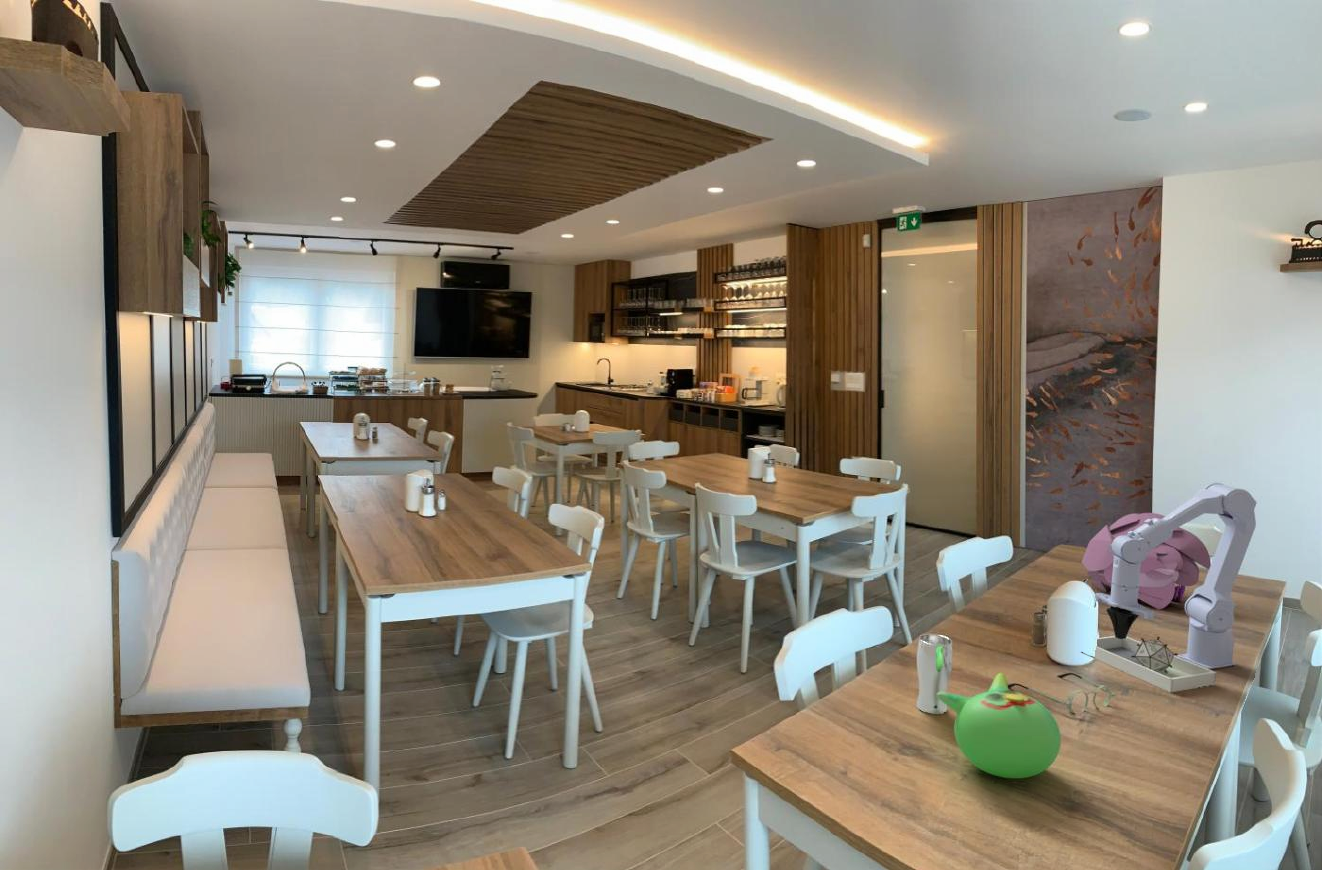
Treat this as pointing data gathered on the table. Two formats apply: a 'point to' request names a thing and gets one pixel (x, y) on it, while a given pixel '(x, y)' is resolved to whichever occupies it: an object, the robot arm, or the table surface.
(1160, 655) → the game die
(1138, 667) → the shallow open box
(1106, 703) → the eyeglasses
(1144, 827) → the table surface
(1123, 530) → the pink rounded layered piece
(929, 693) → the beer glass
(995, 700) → the green squishy toy
